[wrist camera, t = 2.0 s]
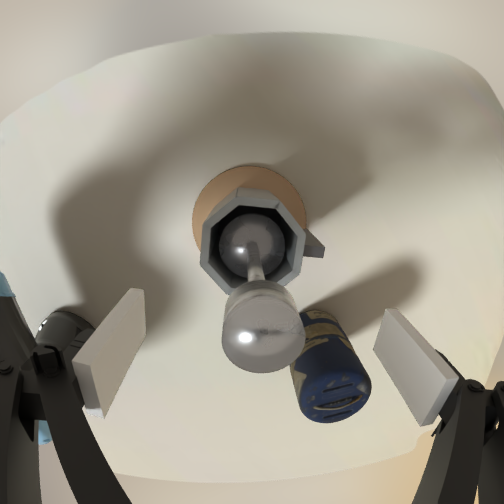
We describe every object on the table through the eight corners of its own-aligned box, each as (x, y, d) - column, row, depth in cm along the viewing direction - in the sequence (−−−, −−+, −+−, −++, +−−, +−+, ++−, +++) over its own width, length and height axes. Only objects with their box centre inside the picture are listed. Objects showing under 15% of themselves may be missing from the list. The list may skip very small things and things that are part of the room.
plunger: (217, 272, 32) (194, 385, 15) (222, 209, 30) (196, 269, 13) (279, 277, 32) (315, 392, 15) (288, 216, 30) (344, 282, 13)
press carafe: (190, 270, 44) (170, 314, 31) (197, 161, 40) (176, 159, 27) (296, 280, 45) (317, 326, 32) (311, 173, 41) (343, 177, 28)
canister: (286, 305, 47) (309, 379, 29) (343, 307, 47) (387, 374, 30) (279, 355, 49) (294, 434, 32) (332, 355, 50) (363, 428, 32)
